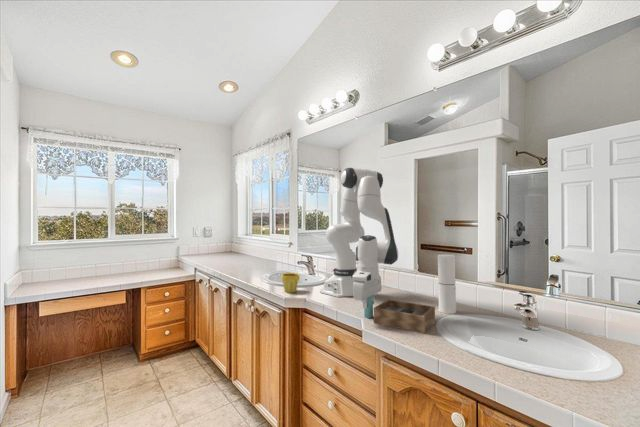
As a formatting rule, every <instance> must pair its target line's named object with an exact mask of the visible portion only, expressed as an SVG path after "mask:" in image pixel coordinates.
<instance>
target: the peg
mask: <svg viewBox="0 0 640 427" xmlns="http://www.w3.org/2000/svg"><path fill="white" fill-rule="evenodd" d="M367 303H368V308H364V313H363V314H364V318H365V319H372V318H373V319H374V304H373V294H372V296H370V297H368V298H367Z"/></svg>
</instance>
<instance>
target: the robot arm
mask: <svg viewBox="0 0 640 427" xmlns="http://www.w3.org/2000/svg"><path fill="white" fill-rule="evenodd" d="M341 172H342V173H341V176H340V183H341V185H342V187H344V189H343V194H342V198H341V203H340V207H339V208H340V209H339V212H340V215H341V216H343V222H344V223H336V224H333V225H329V226H328V227H327V228H326V231H325V238H326V240H327V241H328V242H329V244H331V245H332V247H333V250H334V253H335V254H334V255H335V263H336V265H335V266H336V267H335V268H334V269H332V270H331V271H332V272H333V274H332V275H331V276H330V277H329V278H327V279H326V280H325V281H324V285H323V288H321V289H320V290H319V293H320V294H324V295H328V296H332V297H337V298H341V297H353V299H354V300H355V301H359V302H360V301H361V302H362V308H368V303H367V298H368V297H370V296H372V294H373V305H375V299H376V294H378V293H380V292H381V291H382V278H381V276H380V273H379V268H380V266H379V264H383V265H389V266H390V265H393V264H394V263H396V262H397V261H398V258H399V250H398V247H397V243H396V240H395V236H394V230H393V225H392V221H391V217H390V213H389V211H388V208H386V207H385V206H384V205H383V203H382V198H381V189H382V187H383V184H384V177H383V174H382V173H381V172H378V171H376V170H370V169H365V168H353V167H346V168H345V169H343V171H341ZM361 214H362V215H363V216H365V217H368V218H369V219H372V220H375V221H378V222H379V223H380V224H381V225H382V228H383V233H384V234H383V235H384V237H385V240H384V241H378V239H377V237H376V236H375V235H369V234H368V235H365V229H364V227H363V226H362V224H361V217H360V216H361ZM357 242H358V243H357ZM351 243H352V244H355V243H357V244H358V245H357V246H356V247H355V252H354V251H353V249H351V245H350V244H351ZM357 260H358V263H357V262H356V261H357Z"/></svg>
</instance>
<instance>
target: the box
mask: <svg viewBox="0 0 640 427" xmlns="http://www.w3.org/2000/svg"><path fill="white" fill-rule="evenodd" d="M435 322H436V306H434V305H433V306H432V305H426V304H421V303H415V302H407V301H402V300H394V299H387V300H385V301H383V302H381V303H380V304H378V305H376V306H375V307H373V323H374V324H377V325H382V326H387V327H393V328H398V329H400V330H401V329H402V330H407V331H411V332H416V333H420V334H425V333H426V332H427V331H428V330H429V329H430V328H431V327H432V326H433V325H434V323H435Z"/></svg>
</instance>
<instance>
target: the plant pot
mask: <svg viewBox="0 0 640 427" xmlns="http://www.w3.org/2000/svg"><path fill="white" fill-rule="evenodd" d="M281 281H282V284H283V289H284V292H285V293H287V292H288V293H289V294H290V293H291V294H292V293H296V292H297V289H298V284H299V281H300V274H299V273H295V272H287V273H282V274H281Z"/></svg>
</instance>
